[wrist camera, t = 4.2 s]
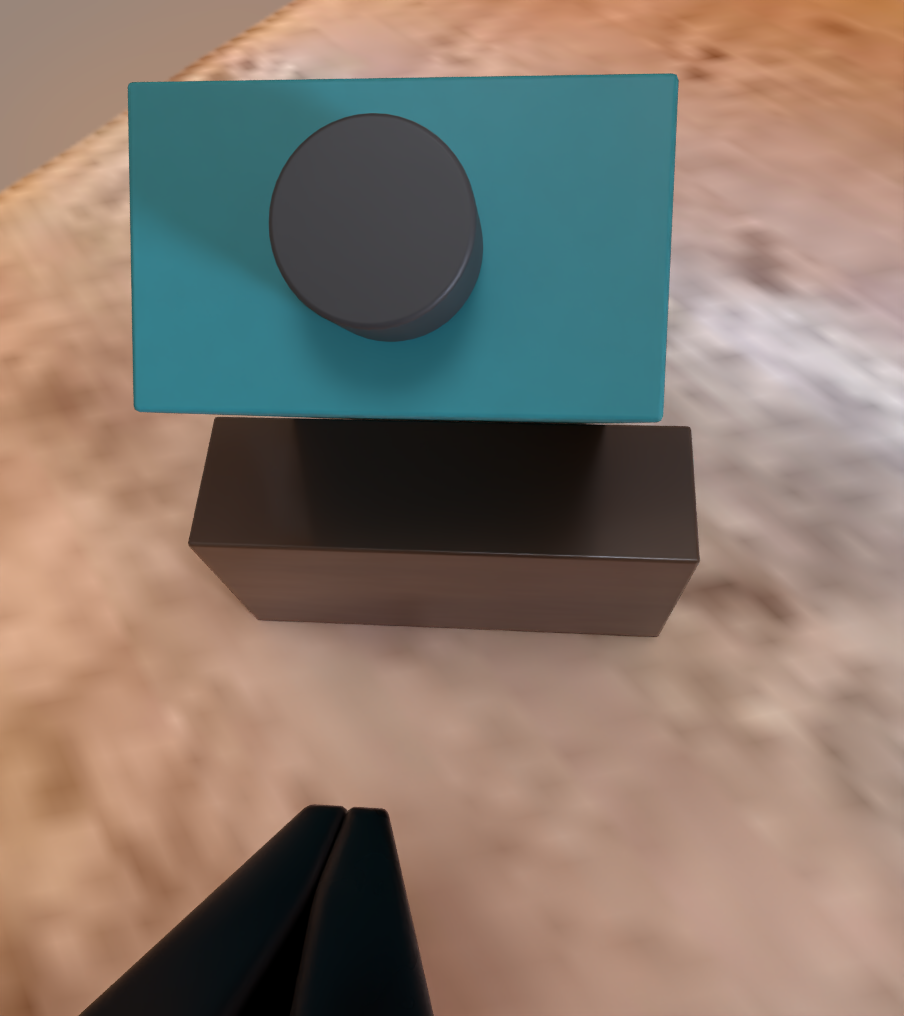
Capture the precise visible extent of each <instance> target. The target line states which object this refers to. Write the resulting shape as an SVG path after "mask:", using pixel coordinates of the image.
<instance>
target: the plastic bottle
mask: <svg viewBox="0 0 904 1016" xmlns="http://www.w3.org/2000/svg"><path fill="white" fill-rule="evenodd" d="M678 82H679V80H678V78H677V75H675V74H614V75H553V76H491V77H430V78H369V79H307V80H246V81H184V82H132V83H130V84H129V85H128V125H129V179H130V233H131V287H132V341H133V395H134V408H135V410H137V411H139V412H155V413H186V414H217V415H248V416H280V417H311V418H342V419H386V420H435V421H484V422H534V423H583V424H586V423H646V422H658V421H661V419H662V417H663V408H664V387H665V365H666V343H667V321H668V300H669V278H670V256H671V234H672V213H673V191H674V169H675V147H676V126H677V104H678Z"/></svg>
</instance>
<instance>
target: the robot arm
mask: <svg viewBox="0 0 904 1016" xmlns="http://www.w3.org/2000/svg"><path fill="white" fill-rule="evenodd" d="M79 1016H434V1015H433V1011H432V1006H431V1002H430V997H429V993H428V988H427V984H426V979H425V975H424V970H423V966H422V961H421V957H420V952H419V948H418V943H417V939H416V934H415V930H414V926H413V921H412V917H411V912H410V908H409V903H408V899H407V894H406V890H405V885H404V881H403V876H402V872H401V867H400V863H399V858H398V854H397V849H396V845H395V840H394V836H393V831H392V827H391V823H390V818H389V814H388V812H387V811H386V810H385V809H381V808H364V807H353V808H351V809H350V810H348V811H347V810H346V809H345V808H344V807H342V806H331V805H309V806H307V807H306V808H304V809H303V810H302V811H301V812H300V813H299V814H298V815H296V816H295V817H294V818H293V819H292V820H291V821H290V822H289V823H288V824H287V825H286V826H284V827H283V828H282V829H281V830H280V831H279V832H278V833H277V834H276V835H275V836H274V837H272V838H271V839H270V840H269V841H268V842H267V843H266V844H265V845H264V846H263V847H262V848H261V849H259V850H258V851H257V852H256V853H255V854H254V855H253V856H252V857H251V858H250V859H249V860H247V861H246V862H245V863H244V864H243V865H242V866H241V867H240V868H239V869H238V870H237V871H235V872H234V873H233V874H232V875H231V876H230V877H229V878H228V879H227V880H226V881H225V882H224V883H222V884H221V885H220V886H219V887H218V888H217V889H216V890H215V891H214V892H213V893H212V894H210V895H209V896H208V897H207V898H206V899H205V900H204V901H203V902H202V903H201V904H200V905H198V906H197V907H196V908H195V909H194V910H193V911H192V912H191V913H190V914H189V915H188V916H186V917H185V918H184V919H183V920H182V921H181V922H180V923H179V924H178V925H177V926H176V927H175V928H173V929H172V930H171V931H170V932H169V933H168V934H167V935H166V936H165V937H164V938H163V939H161V940H160V941H159V942H158V943H157V944H156V945H155V946H154V947H153V948H152V949H151V950H149V951H148V952H147V953H146V954H145V955H144V956H143V957H142V958H141V959H140V960H139V961H137V962H136V963H135V964H134V965H133V966H132V967H131V968H130V969H129V970H128V971H127V972H126V973H124V974H123V975H122V976H121V977H120V978H119V979H118V980H117V981H116V982H115V983H114V984H112V985H111V986H110V987H109V988H108V989H107V990H106V991H105V992H104V993H103V994H102V995H100V996H99V997H98V998H97V999H96V1000H95V1001H94V1002H93V1003H92V1004H91V1005H90V1006H89V1007H87V1008H86V1009H85V1010H84V1011H83V1012H82V1013H81V1014H80V1015H79Z"/></svg>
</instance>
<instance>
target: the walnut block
mask: <svg viewBox="0 0 904 1016" xmlns="http://www.w3.org/2000/svg"><path fill="white" fill-rule="evenodd" d="M188 544H189V546H190V548H191V549H192V550H193V551H194V552H195V553H196V554H197V555H198V556H199V557H200V558H201V559H202V560H203V561H204V563H205V564H206V565H207V566H208V567H209V568H210V569H211V570H212V571H213V572H214V573H215V574H216V575H217V576H218V578H219V579H220V580H221V581H222V582H223V583H224V584H225V585H226V586H227V587H228V588H229V589H230V590H231V592H232V593H233V594H234V595H235V596H236V597H237V598H238V599H239V600H240V601H241V602H242V603H243V604H244V605H245V607H246V608H247V609H248V610H249V611H250V612H251V613H252V614H253V615H254V616H255V617H256V618H257V619H259V620H280V621H303V622H327V623H351V624H374V625H398V626H422V627H445V628H469V629H493V630H516V631H540V632H564V633H587V634H611V635H635V636H658V635H659V634H660V632H661V630H662V628H663V626H664V625H665V623H666V621H667V619H668V617H669V616H670V614H671V612H672V610H673V608H674V607H675V605H676V603H677V601H678V599H679V598H680V596H681V594H682V592H683V591H684V589H685V587H686V585H687V583H688V582H689V580H690V578H691V576H692V574H693V573H694V571H695V569H696V567H697V565H698V564H699V561H700V557H699V542H698V527H697V511H696V496H695V481H694V465H693V450H692V434H691V429H690V427H688V426H640V425H591V424H542V423H492V422H443V421H394V420H345V419H296V418H247V417H216V418H215V419H214V424H213V429H212V433H211V438H210V443H209V447H208V452H207V457H206V462H205V466H204V471H203V476H202V480H201V485H200V490H199V495H198V499H197V504H196V509H195V513H194V518H193V523H192V528H191V532H190V537H189V542H188Z"/></svg>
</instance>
